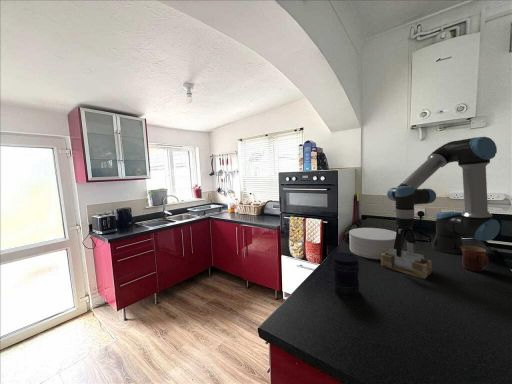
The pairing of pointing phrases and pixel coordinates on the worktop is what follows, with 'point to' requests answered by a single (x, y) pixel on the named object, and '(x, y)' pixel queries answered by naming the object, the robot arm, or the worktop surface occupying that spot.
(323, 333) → the worktop surface
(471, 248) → the mug
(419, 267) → the posts
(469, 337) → the worktop surface
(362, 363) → the worktop surface
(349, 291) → the storage jar
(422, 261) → the grey block
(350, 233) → the plate stack
